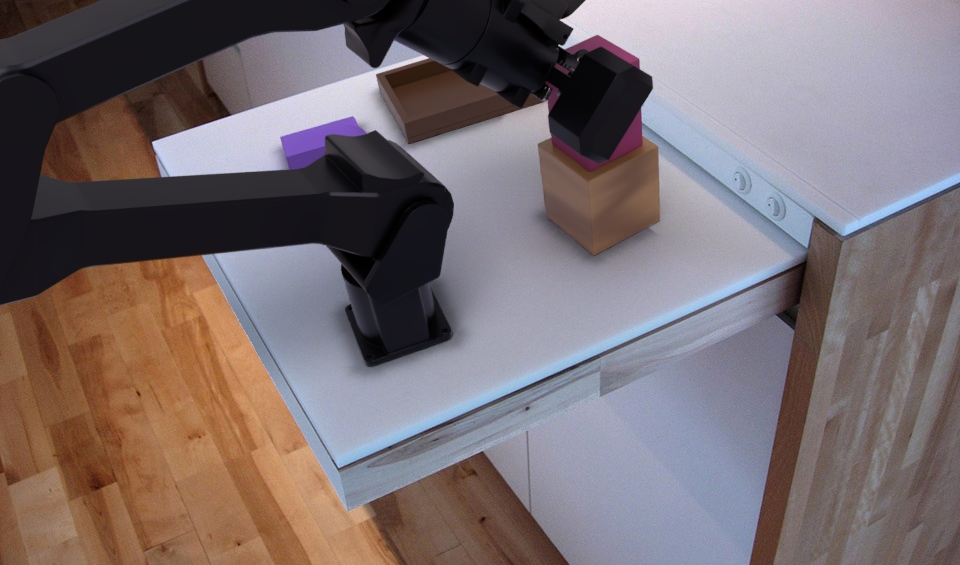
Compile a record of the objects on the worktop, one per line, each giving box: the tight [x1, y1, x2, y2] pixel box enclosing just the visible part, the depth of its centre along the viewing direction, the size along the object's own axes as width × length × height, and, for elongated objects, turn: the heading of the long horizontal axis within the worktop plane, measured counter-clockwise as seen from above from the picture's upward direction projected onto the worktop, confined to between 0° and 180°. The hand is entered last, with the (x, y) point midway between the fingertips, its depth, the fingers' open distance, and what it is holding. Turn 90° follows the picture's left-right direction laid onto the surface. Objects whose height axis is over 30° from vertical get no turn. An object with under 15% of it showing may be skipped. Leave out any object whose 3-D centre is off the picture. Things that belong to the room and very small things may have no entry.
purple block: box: [279, 115, 368, 170], centre depth 87 cm, size 12×7×7 cm, turn 18°
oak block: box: [537, 135, 661, 256], centre depth 78 cm, size 6×6×7 cm
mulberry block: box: [545, 34, 643, 171], centre depth 73 cm, size 5×5×7 cm
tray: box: [375, 57, 545, 145], centre depth 96 cm, size 10×13×2 cm
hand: (610, 104), depth 74 cm, fingers closed on mulberry block, 5 cm apart
